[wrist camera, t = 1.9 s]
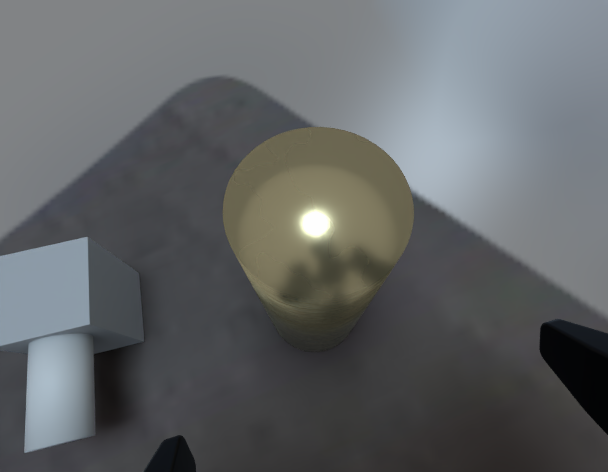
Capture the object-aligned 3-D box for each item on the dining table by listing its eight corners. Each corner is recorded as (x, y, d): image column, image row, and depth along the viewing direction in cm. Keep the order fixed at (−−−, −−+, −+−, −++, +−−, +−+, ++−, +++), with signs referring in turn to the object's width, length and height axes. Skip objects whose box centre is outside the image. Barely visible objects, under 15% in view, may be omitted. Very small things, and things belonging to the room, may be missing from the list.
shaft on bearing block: (69, 289, 22) (-5, 257, 17) (139, 273, 22) (87, 236, 17) (69, 444, 19) (-21, 463, 14) (150, 423, 19) (92, 433, 14)
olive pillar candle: (362, 348, 20) (431, 290, 9) (272, 355, 20) (221, 305, 9) (351, 263, 22) (396, 121, 10) (269, 269, 22) (223, 132, 10)
